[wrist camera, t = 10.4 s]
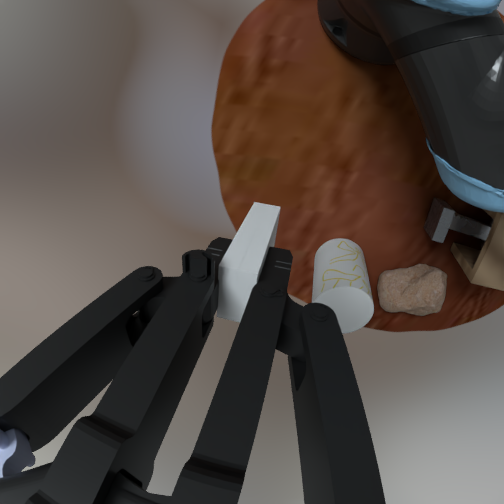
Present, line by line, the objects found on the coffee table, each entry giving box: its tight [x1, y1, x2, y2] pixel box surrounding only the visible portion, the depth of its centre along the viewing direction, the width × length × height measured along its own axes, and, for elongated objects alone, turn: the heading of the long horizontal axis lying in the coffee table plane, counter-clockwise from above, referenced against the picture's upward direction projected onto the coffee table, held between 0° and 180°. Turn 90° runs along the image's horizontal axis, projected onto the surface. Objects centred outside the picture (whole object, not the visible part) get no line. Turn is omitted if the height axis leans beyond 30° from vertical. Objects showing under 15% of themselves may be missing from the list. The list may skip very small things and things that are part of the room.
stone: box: [377, 264, 447, 316], centre depth 40 cm, size 12×9×10 cm
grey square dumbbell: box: [424, 197, 494, 248], centre depth 32 cm, size 6×26×5 cm, turn 84°
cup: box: [312, 239, 374, 334], centre depth 39 cm, size 8×8×12 cm
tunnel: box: [450, 209, 504, 291], centre depth 31 cm, size 11×9×9 cm
